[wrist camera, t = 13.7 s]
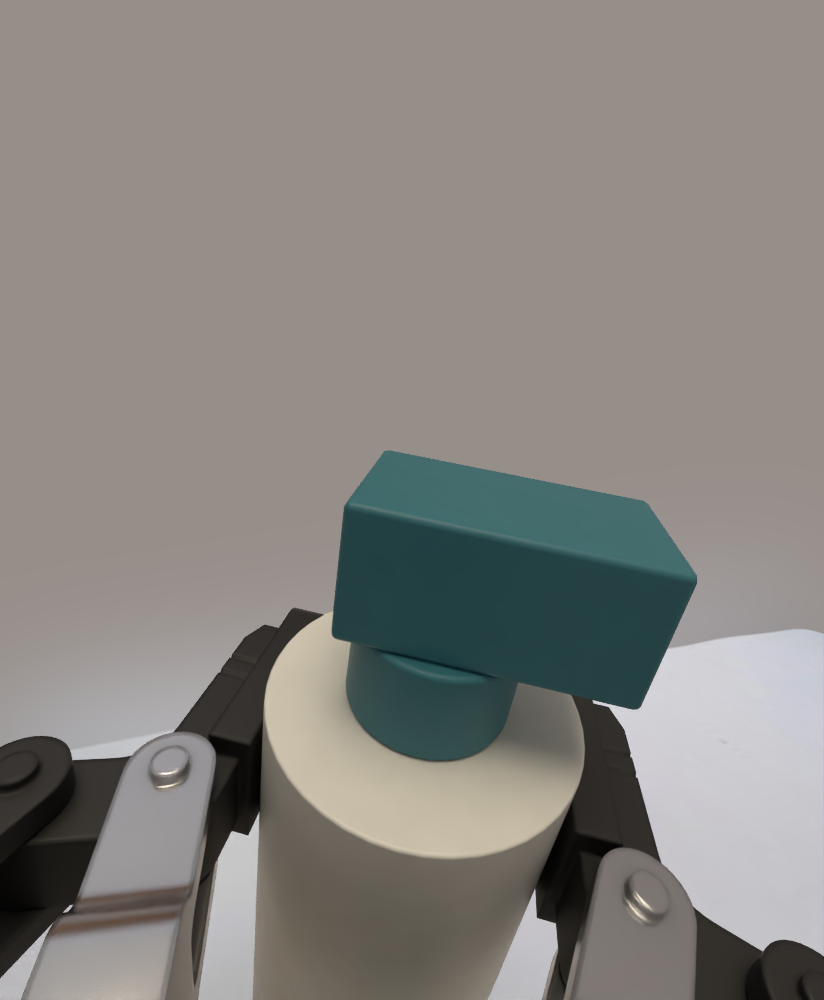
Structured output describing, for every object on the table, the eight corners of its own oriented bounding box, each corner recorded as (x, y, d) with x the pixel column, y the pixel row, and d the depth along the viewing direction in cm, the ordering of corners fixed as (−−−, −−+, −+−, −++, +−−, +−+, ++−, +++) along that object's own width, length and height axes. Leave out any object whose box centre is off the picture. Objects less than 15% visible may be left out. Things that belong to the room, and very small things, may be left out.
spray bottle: (208, 1160, 11) (179, 537, 4) (296, 902, 15) (342, 413, 9) (439, 1241, 10) (766, 668, 4) (458, 950, 15) (626, 468, 9)
